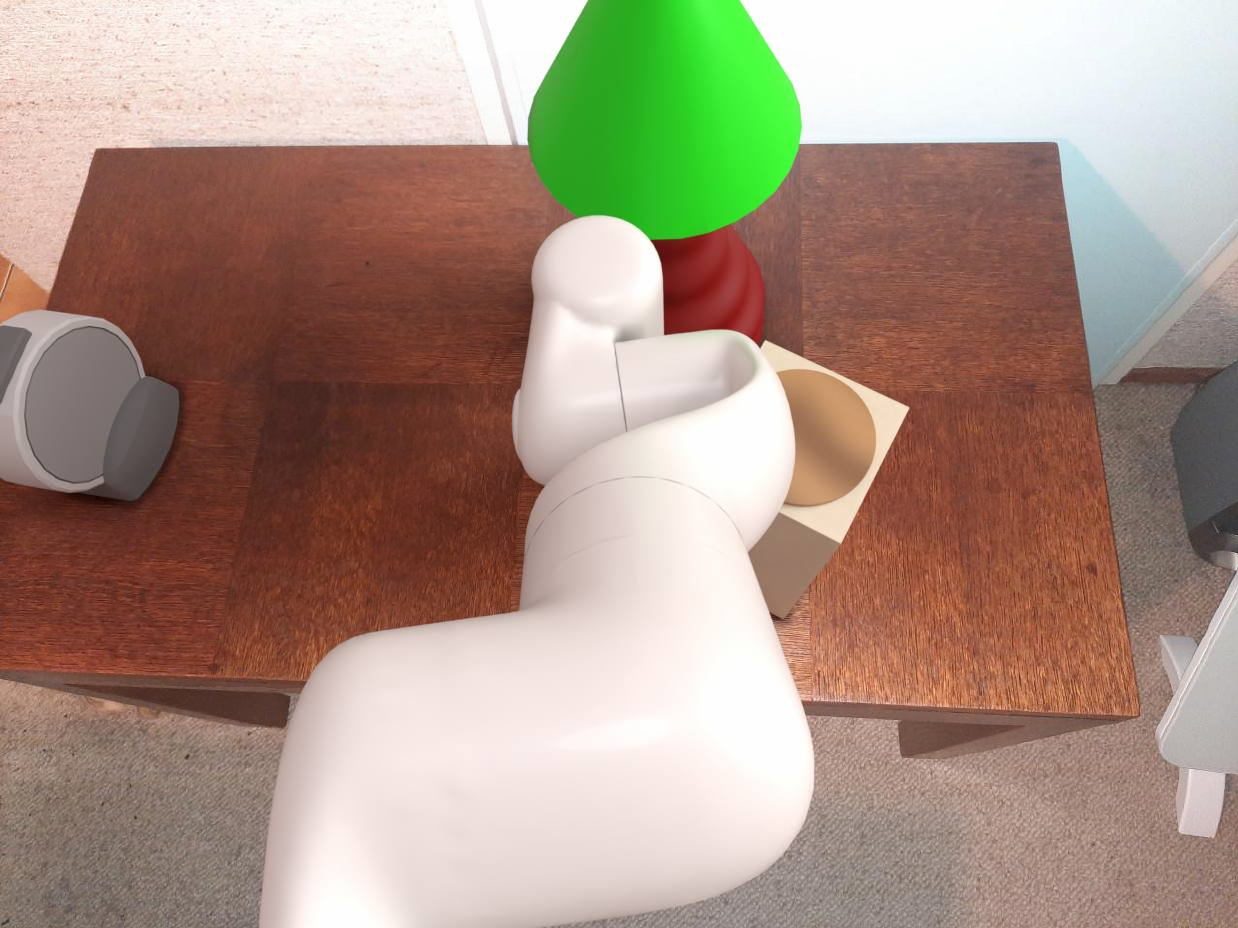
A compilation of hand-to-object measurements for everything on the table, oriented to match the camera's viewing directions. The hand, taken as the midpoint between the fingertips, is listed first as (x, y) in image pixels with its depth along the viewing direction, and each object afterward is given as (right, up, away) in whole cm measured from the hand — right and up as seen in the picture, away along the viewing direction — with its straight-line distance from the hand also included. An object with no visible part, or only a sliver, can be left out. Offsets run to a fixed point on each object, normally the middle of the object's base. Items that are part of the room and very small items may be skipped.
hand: (623, 449), depth 75 cm
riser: (+13, -9, +4) cm, 16 cm away
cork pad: (+11, 0, -22) cm, 25 cm away
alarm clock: (-51, +1, +12) cm, 52 cm away
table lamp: (+4, +14, +13) cm, 19 cm away
